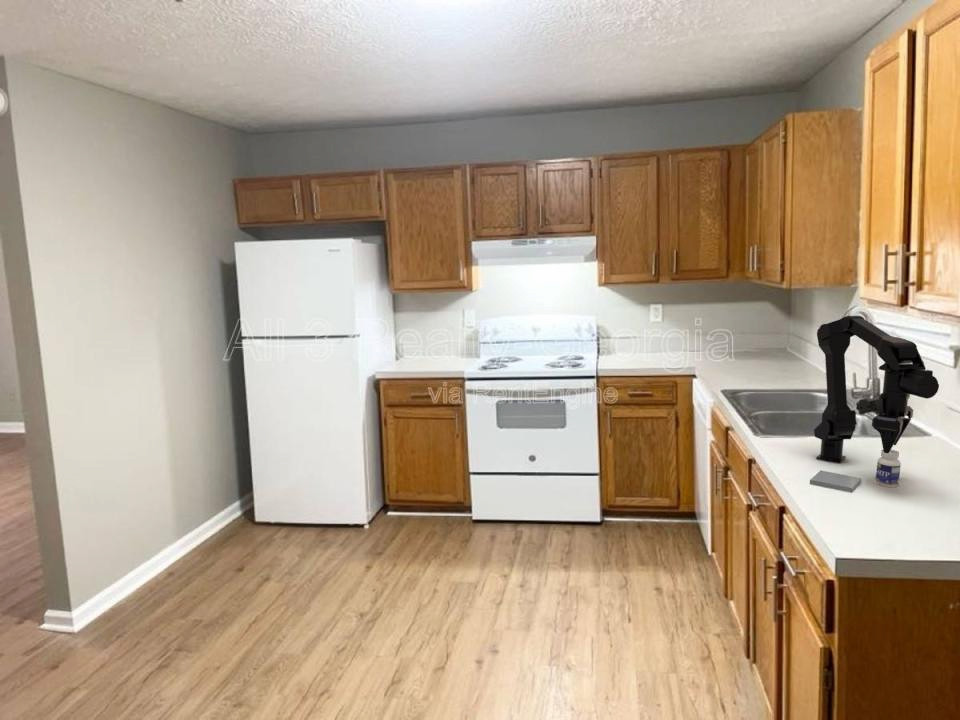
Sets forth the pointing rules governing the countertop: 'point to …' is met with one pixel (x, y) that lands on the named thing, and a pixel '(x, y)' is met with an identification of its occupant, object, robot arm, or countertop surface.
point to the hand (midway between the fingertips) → (889, 448)
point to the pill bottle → (888, 469)
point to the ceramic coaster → (835, 481)
